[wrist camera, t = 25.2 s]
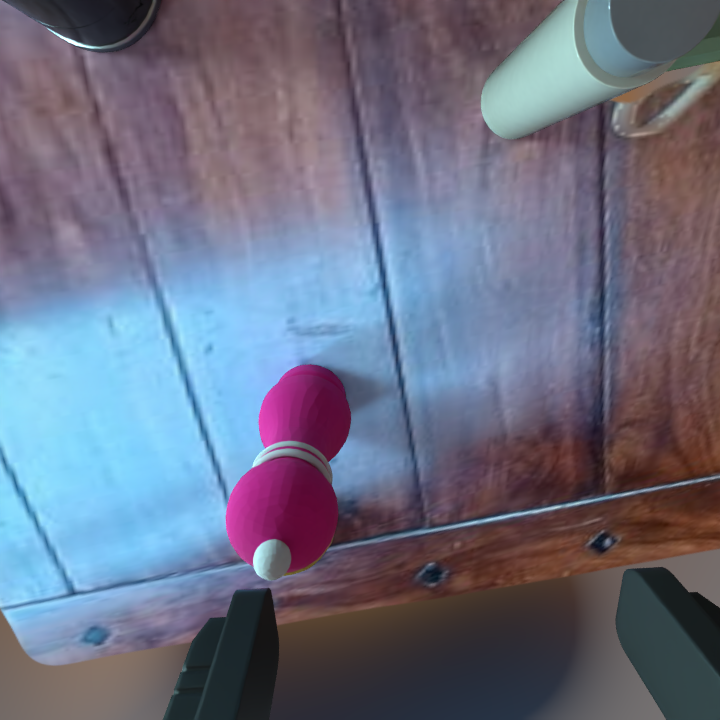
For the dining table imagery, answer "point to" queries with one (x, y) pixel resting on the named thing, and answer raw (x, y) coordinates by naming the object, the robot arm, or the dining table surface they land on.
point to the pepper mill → (291, 475)
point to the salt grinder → (589, 59)
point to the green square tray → (702, 50)
